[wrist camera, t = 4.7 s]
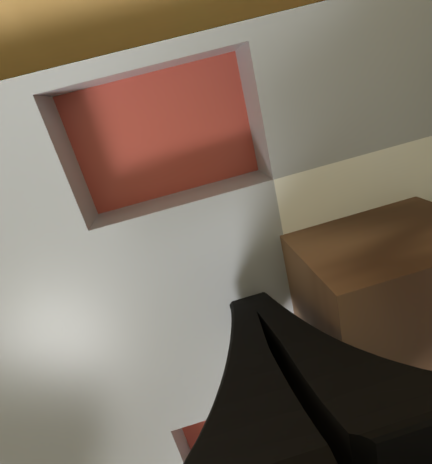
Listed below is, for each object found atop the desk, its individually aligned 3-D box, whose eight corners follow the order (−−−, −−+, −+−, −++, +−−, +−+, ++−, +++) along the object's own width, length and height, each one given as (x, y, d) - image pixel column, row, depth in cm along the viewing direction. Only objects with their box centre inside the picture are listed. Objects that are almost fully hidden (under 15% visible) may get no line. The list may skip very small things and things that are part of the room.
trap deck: (429, -15, 11) (612, -98, 7) (430, 381, 18) (524, 475, 13) (-182, 137, 10) (-462, 161, 6) (58, 501, 17) (19, 650, 12)
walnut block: (415, 196, 12) (532, 236, 8) (418, 313, 14) (514, 389, 10) (279, 235, 12) (336, 296, 8) (300, 349, 13) (355, 442, 10)
